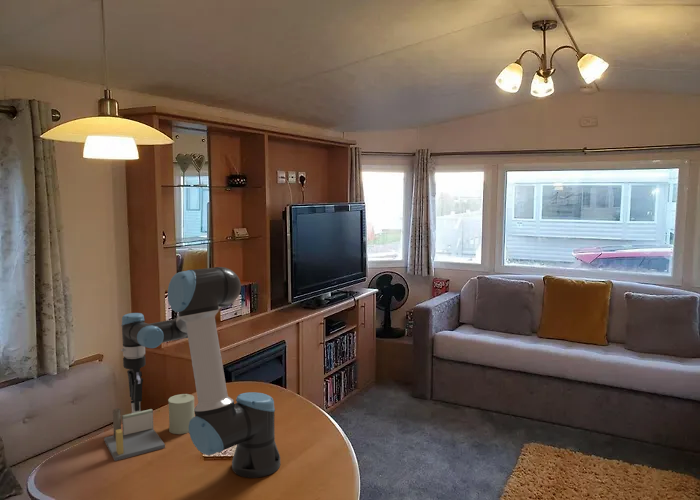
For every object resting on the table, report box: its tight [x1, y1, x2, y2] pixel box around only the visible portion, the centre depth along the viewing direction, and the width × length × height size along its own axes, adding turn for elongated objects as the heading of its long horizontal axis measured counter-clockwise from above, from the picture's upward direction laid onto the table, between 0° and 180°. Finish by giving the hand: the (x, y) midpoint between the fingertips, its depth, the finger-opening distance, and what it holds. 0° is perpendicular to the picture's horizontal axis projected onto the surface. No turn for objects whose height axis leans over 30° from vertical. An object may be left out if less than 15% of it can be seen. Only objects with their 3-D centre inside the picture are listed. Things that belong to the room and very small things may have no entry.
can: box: [167, 393, 195, 435], centre depth 197 cm, size 9×9×12 cm
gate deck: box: [103, 408, 166, 462], centre depth 184 cm, size 17×16×11 cm
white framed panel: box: [121, 408, 154, 435], centre depth 191 cm, size 10×2×7 cm, turn 125°
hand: (136, 418), depth 197 cm, fingers closed
